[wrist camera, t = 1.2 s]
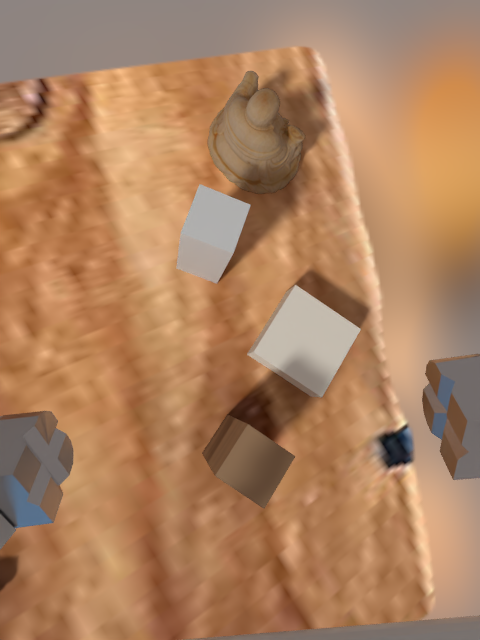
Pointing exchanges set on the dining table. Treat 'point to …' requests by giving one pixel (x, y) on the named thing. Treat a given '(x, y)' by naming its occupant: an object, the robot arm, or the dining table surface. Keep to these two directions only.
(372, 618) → the dining table surface
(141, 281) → the dining table surface
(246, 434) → the walnut block
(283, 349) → the cream base
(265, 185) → the statue
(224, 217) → the grey block
